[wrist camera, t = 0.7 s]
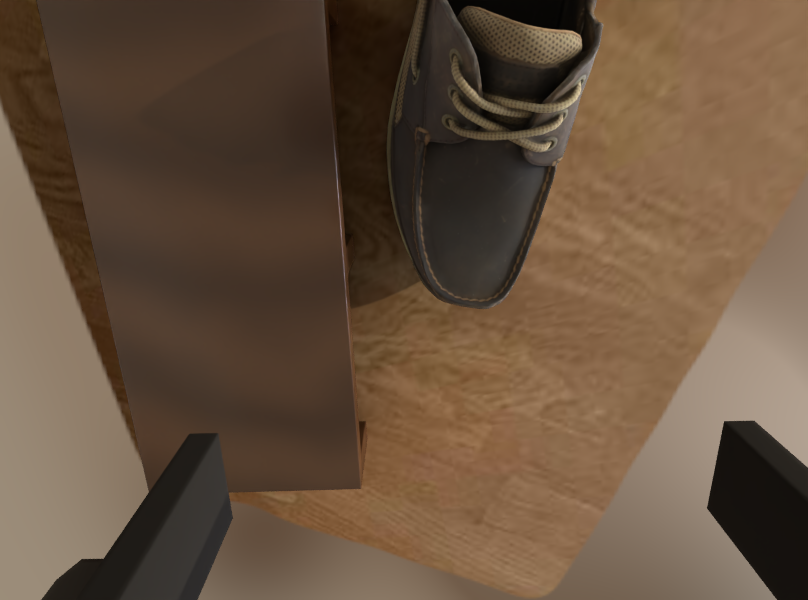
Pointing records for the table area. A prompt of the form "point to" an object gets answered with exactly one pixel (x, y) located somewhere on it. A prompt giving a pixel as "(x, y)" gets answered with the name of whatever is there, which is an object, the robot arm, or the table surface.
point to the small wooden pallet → (218, 227)
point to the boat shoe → (483, 135)
